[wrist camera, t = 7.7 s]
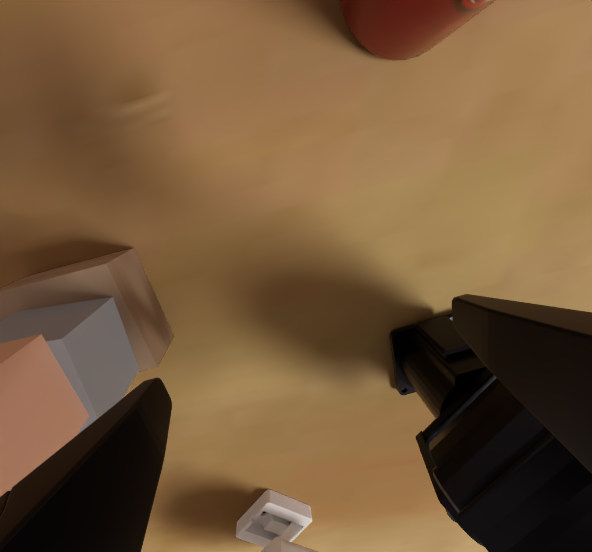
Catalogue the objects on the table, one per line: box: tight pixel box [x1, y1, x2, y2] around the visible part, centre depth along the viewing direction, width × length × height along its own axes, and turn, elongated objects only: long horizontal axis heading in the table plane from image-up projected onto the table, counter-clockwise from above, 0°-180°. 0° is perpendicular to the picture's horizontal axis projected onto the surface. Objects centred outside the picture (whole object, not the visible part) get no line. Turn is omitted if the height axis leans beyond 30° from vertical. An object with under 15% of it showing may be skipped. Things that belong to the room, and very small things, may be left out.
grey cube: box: [0, 297, 140, 434], centre depth 15 cm, size 5×5×4 cm
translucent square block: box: [0, 248, 174, 372], centre depth 19 cm, size 7×7×4 cm
